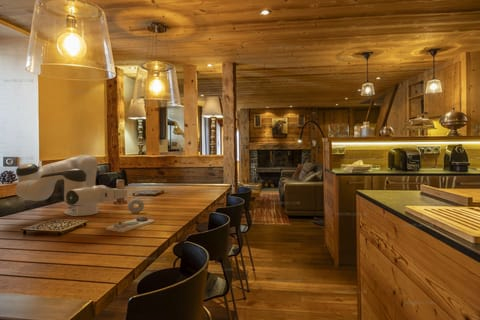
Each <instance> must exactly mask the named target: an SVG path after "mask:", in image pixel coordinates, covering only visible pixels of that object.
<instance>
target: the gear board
mask: <svg viewBox="0 0 480 320" xmlns="http://www.w3.org/2000/svg"><path fill="white" fill-rule="evenodd" d="M154 223H156V221H155V219H148V217H147V216H144V215H141V216H140V217H137V218H134V219H131V220H127V221H123V222H122V221H119V222H116V223H115V224H113V225H109V226H106V227H105V230H107V231H112V232H119V233H125V232H128V231H131V230H134V229H137V228H141V227H144V226H147V225H150V224H154Z"/></svg>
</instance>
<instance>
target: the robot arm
mask: <svg viewBox="0 0 480 320" xmlns="http://www.w3.org/2000/svg"><path fill="white" fill-rule="evenodd" d="M98 166H99V163H98V160H97V158H96V157H95V156H94V155H91V154H80V155H76V156H72V157H69V158H67V159H63V160H59V161H55V162H51V163H48V164H44V165H41V166H38V165H36V164H34V163H24V164H21V165H19V166H18V167H17V168H16V169H15V174H16V175H15V176H16V178H17V181H18V183H17V184H16V185H15V188H14V193H15V195H16V196H17V197H19V198H21V199H23V200H26V201H27V200H28V201H29V202H30V201H31V202H35V201H36V202H39V201H40V202H41V201H45V200H47V199H48V198H50V197H51V196H52V195H53V193H54V190H55V186H56V184H57V181H58V180H59V181H60V180H63V182H64V183H63V185H64V187H63V199H64V202H65V203H66V204H67V210H65V211H63V214H65V215H68V216H72V217H78V216H80V217H81V216H91V215H95V214H98V213H99V212H100V209H99V206H98V203H103V202H114V201H115V200H117V199H119V198H123V197H124V198H126V197H127V196H128V190H127V189H125V188H124V189H117V188H116V187H115V188H112V187H108V186H106V185H104V184H100V185H98V184H97V185H96V180H97V179H96V178H97V174H98V173H97V171H98Z"/></svg>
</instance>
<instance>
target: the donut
mask: <svg viewBox="0 0 480 320" xmlns="http://www.w3.org/2000/svg"><path fill="white" fill-rule="evenodd" d="M127 204H128V205H127V207H128V210H129V212H130V213H133V214H138V213H141V212H142V211H143V209H144V205H145V204H144V202H143V200H141V198H138V197H137V198H135V197H134V198H132V199H131V200H129V202H128V203H127ZM135 204H137V205H138V207H134V205H135Z"/></svg>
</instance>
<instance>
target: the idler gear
mask: <svg viewBox="0 0 480 320" xmlns="http://www.w3.org/2000/svg"><path fill="white" fill-rule="evenodd" d="M116 189H125V179H116ZM126 204H128V201H127V200H125V197H123V198H119V199H116V200H113V205H115V206H116V205H117V206H123V205H126Z"/></svg>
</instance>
